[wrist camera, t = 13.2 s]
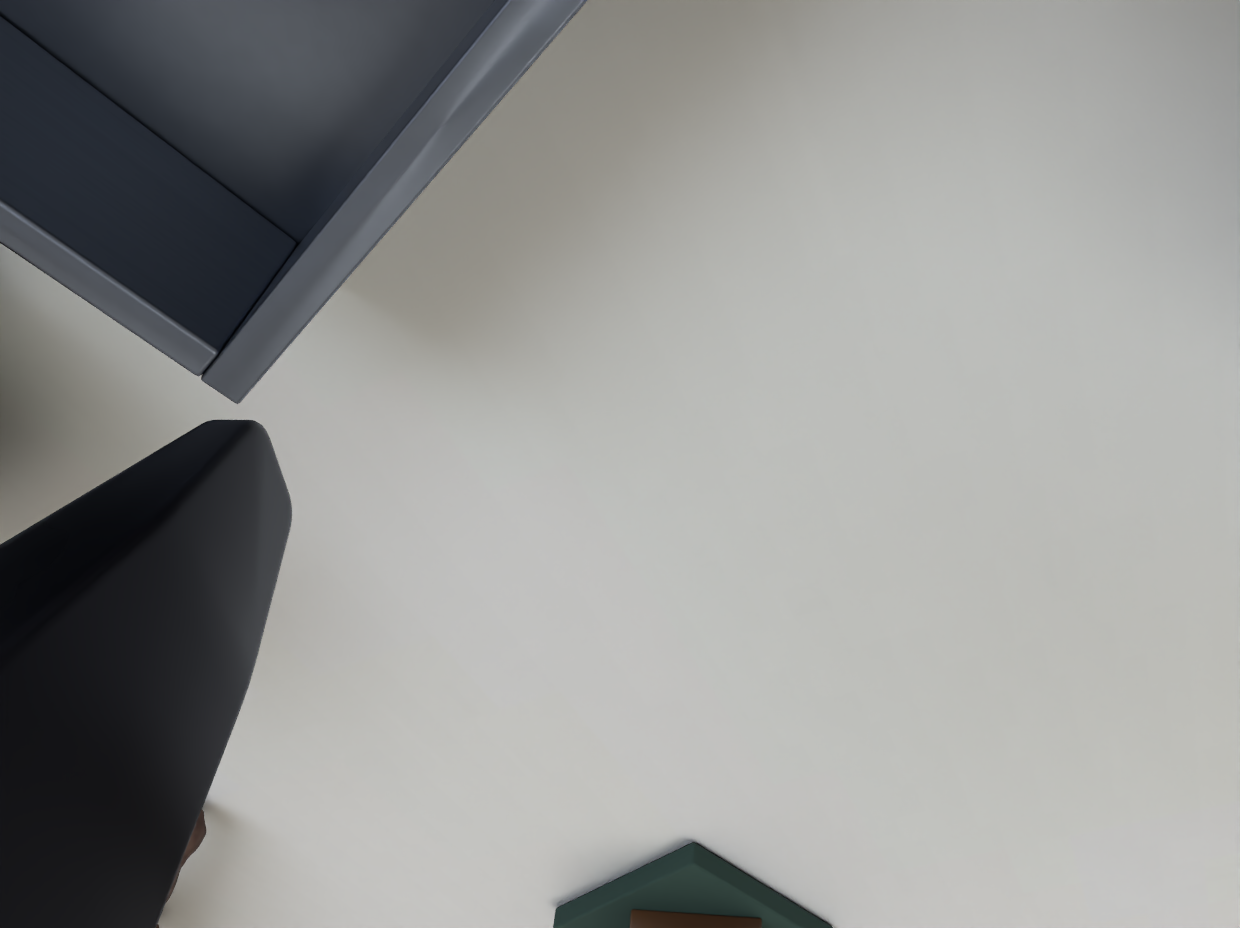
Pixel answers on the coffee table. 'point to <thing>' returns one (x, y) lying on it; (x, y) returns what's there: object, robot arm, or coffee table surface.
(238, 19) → the open box
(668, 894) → the mat
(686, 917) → the cube
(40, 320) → the coffee table surface
